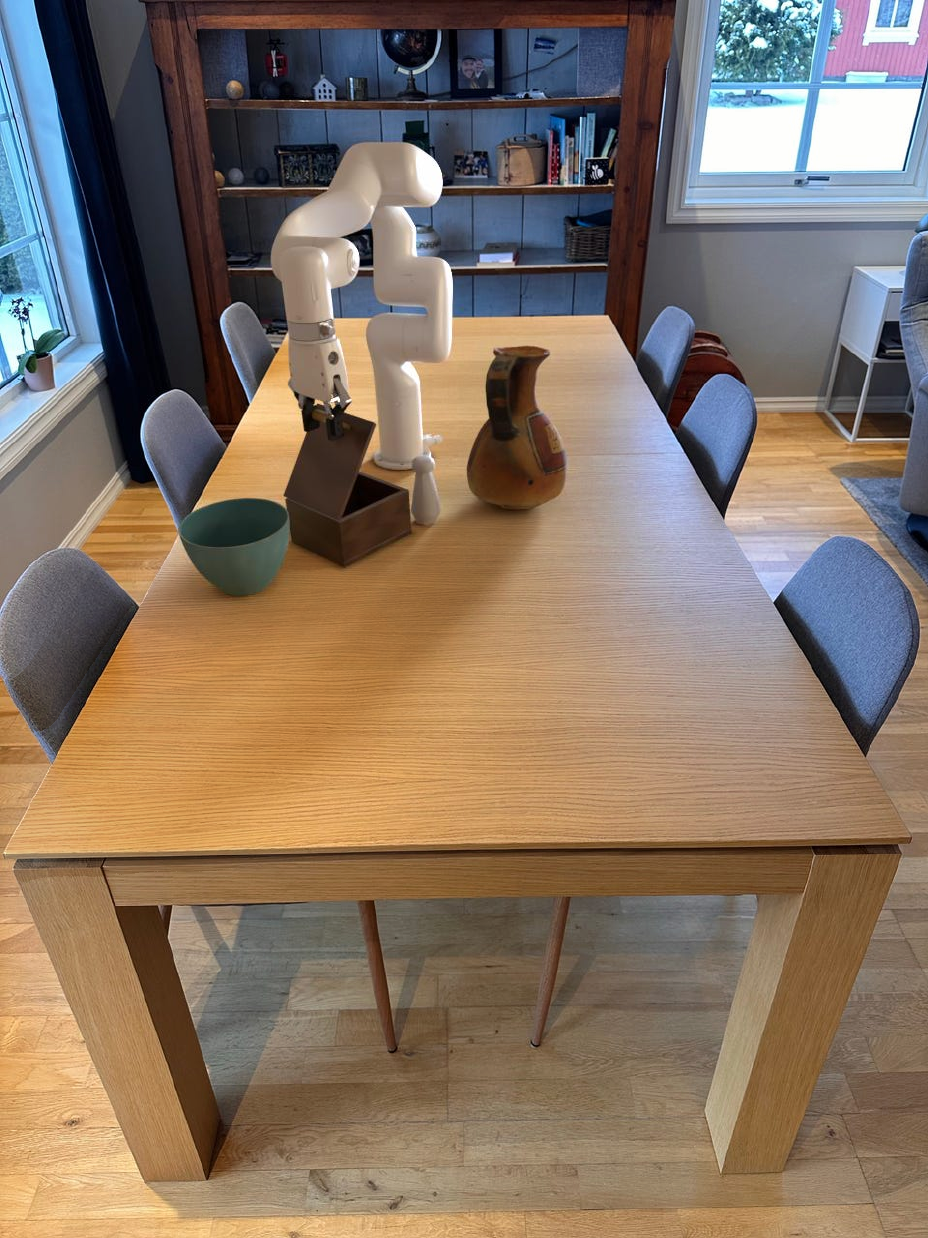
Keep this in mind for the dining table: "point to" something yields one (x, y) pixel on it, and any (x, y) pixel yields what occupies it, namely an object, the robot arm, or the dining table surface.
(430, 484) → the salt shaker
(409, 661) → the dining table surface
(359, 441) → the chest lid
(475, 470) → the ceramic pitcher
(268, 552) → the green bowl
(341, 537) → the chest
